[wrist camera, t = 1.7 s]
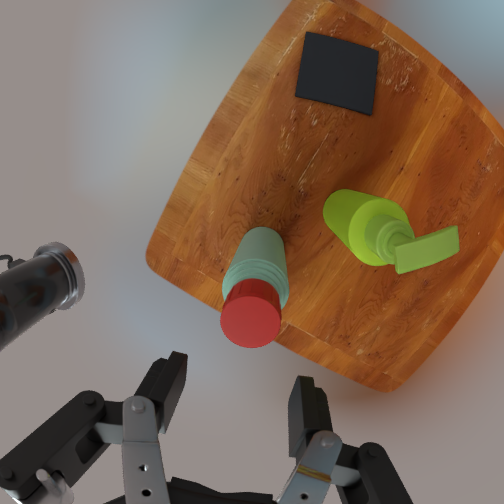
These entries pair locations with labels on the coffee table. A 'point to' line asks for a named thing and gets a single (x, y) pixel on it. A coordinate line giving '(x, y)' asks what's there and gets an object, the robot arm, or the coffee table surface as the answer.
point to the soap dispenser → (384, 232)
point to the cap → (251, 313)
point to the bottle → (259, 262)
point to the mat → (337, 73)
